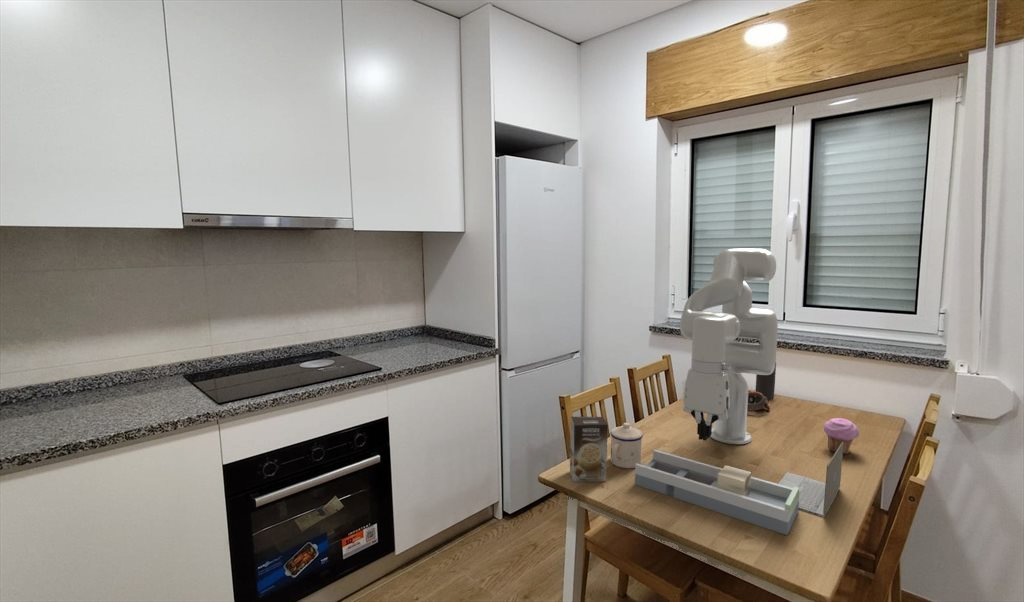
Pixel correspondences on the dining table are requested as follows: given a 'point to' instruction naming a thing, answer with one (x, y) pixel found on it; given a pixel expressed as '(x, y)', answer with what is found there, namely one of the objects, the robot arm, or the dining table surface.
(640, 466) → the channel
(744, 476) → the block
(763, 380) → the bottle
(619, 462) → the teacup with lid
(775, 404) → the dining table surface
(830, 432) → the cupcake
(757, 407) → the pottery mug
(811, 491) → the laptop
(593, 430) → the coffee box
